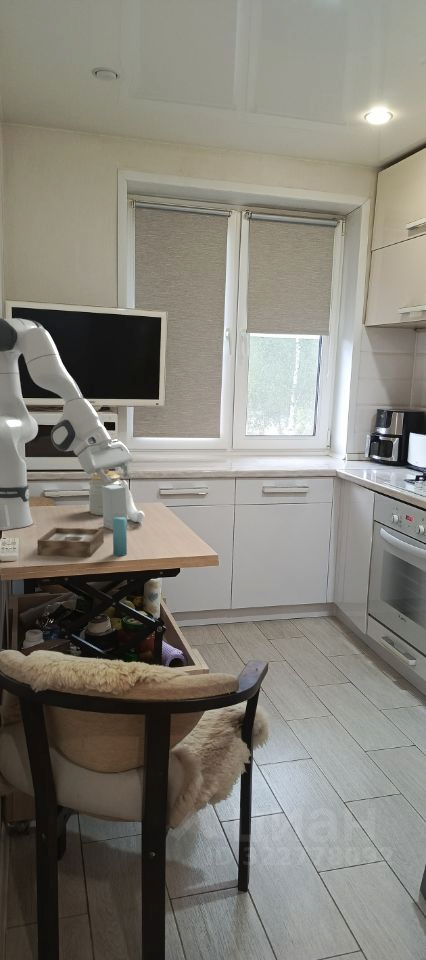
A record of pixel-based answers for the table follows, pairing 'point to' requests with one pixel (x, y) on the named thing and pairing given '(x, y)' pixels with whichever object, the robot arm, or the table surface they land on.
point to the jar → (100, 491)
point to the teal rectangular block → (119, 536)
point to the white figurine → (132, 507)
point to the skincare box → (113, 504)
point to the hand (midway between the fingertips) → (118, 479)
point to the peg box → (71, 542)
